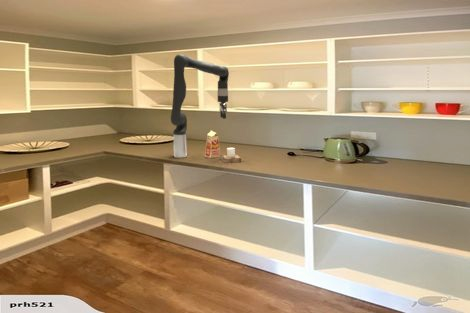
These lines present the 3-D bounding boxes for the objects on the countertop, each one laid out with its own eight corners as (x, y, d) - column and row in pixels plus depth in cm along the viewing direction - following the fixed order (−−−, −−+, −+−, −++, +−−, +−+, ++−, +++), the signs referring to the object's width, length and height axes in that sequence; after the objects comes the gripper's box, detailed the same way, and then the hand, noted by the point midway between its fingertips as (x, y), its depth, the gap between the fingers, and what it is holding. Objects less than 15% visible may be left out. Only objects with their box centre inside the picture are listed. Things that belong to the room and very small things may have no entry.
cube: (228, 157, 269) (228, 149, 268) (226, 156, 274) (226, 147, 273) (235, 157, 270) (235, 148, 269) (233, 155, 275) (233, 147, 274)
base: (224, 162, 266) (224, 158, 265) (221, 159, 277) (221, 155, 277) (241, 161, 268) (241, 157, 268) (237, 158, 280) (237, 154, 279)
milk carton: (204, 156, 290) (203, 130, 286) (214, 155, 295) (214, 129, 291) (211, 158, 282) (210, 131, 279) (221, 156, 288) (220, 130, 284)
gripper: (215, 94, 276) (216, 117, 279) (219, 95, 262) (219, 119, 265) (226, 94, 277) (226, 117, 280) (230, 95, 264) (230, 118, 267)
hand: (223, 118), depth 273 cm, fingers open, 8 cm apart
